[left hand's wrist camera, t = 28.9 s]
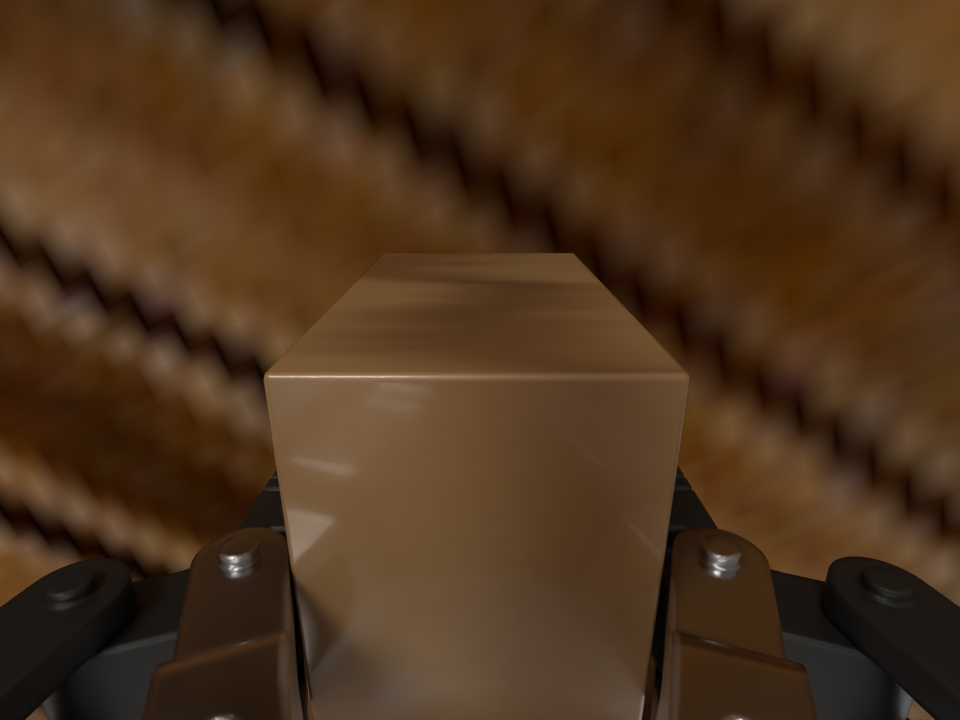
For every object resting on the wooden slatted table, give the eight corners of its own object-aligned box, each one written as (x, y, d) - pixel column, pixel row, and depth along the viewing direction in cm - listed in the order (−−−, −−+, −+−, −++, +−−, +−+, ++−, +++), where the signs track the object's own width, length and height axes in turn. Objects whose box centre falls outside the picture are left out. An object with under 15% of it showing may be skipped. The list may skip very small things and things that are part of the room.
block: (399, 524, 17) (328, 842, 9) (382, 252, 14) (259, 374, 6) (559, 524, 17) (627, 842, 9) (575, 252, 14) (693, 374, 6)
